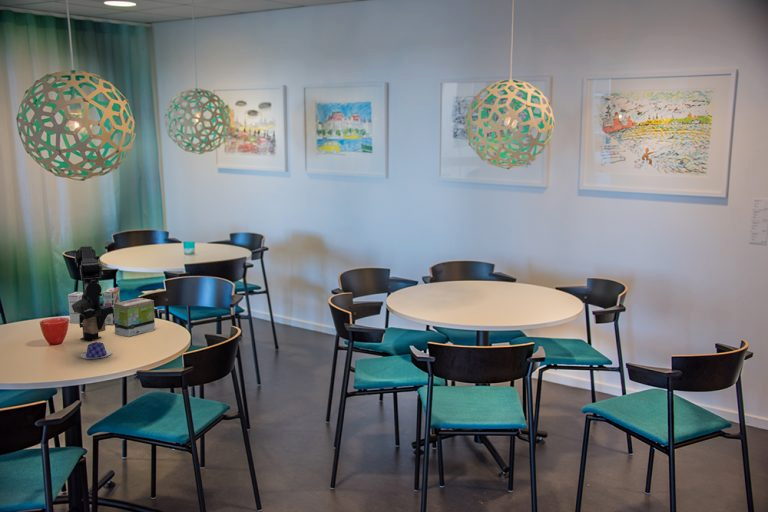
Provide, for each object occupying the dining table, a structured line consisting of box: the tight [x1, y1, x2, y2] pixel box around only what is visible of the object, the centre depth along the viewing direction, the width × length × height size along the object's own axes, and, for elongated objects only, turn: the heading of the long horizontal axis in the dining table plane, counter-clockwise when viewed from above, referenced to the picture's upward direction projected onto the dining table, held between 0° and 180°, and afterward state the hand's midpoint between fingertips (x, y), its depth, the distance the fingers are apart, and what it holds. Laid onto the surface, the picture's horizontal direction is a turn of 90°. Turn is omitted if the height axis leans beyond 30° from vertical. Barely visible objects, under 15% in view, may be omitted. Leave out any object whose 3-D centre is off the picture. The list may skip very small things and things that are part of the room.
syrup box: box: [67, 291, 83, 324], centre depth 334 cm, size 6×6×14 cm
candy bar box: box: [102, 287, 121, 326], centre depth 333 cm, size 11×5×16 cm, turn 5°
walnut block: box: [82, 317, 106, 334], centre depth 282 cm, size 6×6×5 cm
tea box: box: [114, 297, 156, 338], centre depth 317 cm, size 15×10×15 cm
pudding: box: [80, 341, 113, 360], centre depth 284 cm, size 12×12×5 cm
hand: (94, 328), depth 282 cm, fingers closed on walnut block, 6 cm apart
